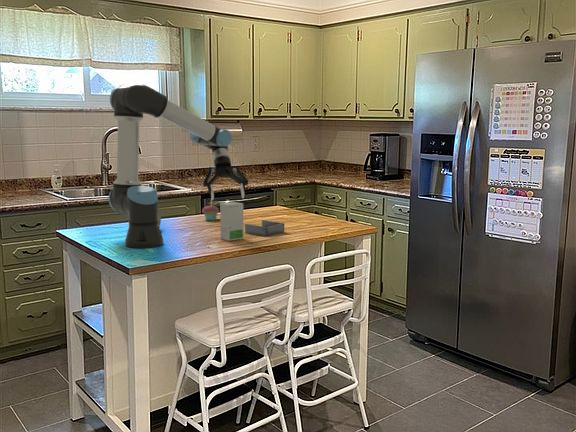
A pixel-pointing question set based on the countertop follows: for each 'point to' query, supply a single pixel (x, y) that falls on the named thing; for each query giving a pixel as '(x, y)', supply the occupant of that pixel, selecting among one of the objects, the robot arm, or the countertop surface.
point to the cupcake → (210, 212)
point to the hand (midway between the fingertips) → (228, 197)
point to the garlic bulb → (159, 220)
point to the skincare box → (231, 221)
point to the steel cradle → (265, 228)
